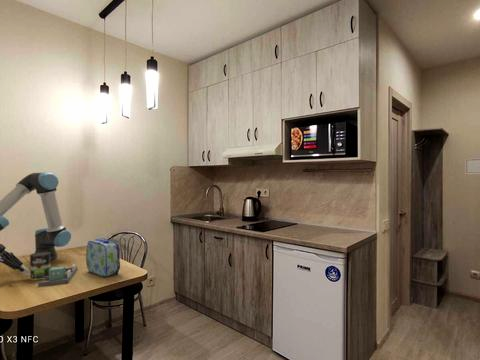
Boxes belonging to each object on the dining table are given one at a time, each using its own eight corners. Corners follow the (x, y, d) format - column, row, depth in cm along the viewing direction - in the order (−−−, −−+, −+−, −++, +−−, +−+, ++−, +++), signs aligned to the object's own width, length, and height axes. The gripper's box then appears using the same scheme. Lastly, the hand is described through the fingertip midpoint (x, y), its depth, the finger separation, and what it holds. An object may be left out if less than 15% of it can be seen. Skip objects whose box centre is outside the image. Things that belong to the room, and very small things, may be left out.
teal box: (51, 280, 165) (51, 267, 165) (65, 278, 167) (65, 266, 167) (48, 283, 160) (48, 270, 160) (63, 282, 162) (62, 269, 162)
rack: (52, 272, 179) (51, 264, 179) (77, 269, 183) (77, 261, 183) (38, 286, 156) (38, 277, 155) (67, 283, 160) (67, 273, 160)
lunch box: (122, 274, 173) (122, 240, 173) (105, 279, 164) (104, 243, 164) (101, 267, 189) (100, 235, 188) (84, 271, 180) (84, 238, 180)
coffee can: (49, 278, 168) (49, 254, 168) (28, 281, 164) (27, 257, 164) (52, 273, 178) (52, 250, 178) (32, 275, 173) (32, 252, 173)
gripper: (-6, 250, 168) (28, 275, 174) (-18, 256, 156) (19, 282, 161) (5, 241, 170) (38, 265, 175) (-7, 245, 158) (29, 272, 163)
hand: (28, 273), depth 168 cm, fingers closed
